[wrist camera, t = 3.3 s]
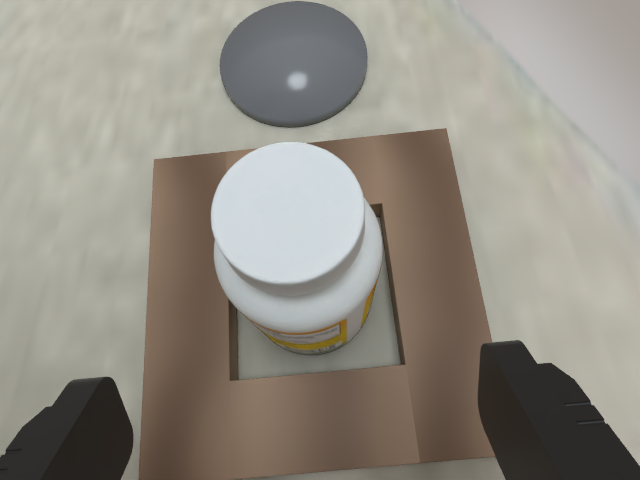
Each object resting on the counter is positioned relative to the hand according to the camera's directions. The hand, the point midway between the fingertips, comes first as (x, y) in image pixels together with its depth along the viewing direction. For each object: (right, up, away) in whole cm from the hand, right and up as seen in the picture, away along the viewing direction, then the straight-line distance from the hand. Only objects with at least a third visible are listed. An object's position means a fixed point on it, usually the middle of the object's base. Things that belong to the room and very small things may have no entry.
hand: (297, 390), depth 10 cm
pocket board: (0, +1, +10) cm, 11 cm away
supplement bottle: (0, +1, +11) cm, 11 cm away
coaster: (-1, +13, +15) cm, 20 cm away
